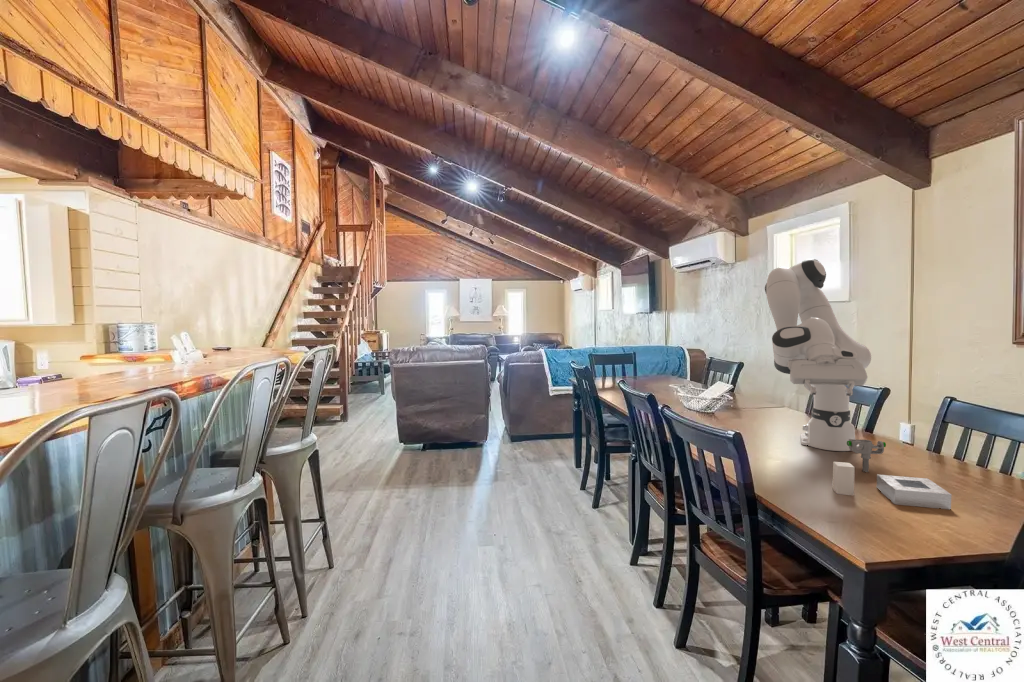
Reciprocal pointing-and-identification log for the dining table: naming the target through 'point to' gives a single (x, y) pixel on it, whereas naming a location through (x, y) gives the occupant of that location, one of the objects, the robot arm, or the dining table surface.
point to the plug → (843, 478)
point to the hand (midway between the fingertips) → (831, 394)
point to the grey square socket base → (913, 491)
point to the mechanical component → (866, 450)
